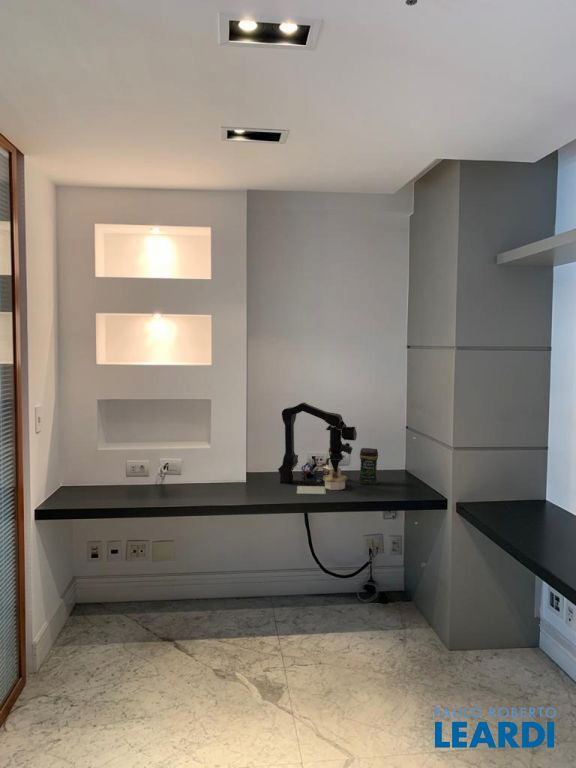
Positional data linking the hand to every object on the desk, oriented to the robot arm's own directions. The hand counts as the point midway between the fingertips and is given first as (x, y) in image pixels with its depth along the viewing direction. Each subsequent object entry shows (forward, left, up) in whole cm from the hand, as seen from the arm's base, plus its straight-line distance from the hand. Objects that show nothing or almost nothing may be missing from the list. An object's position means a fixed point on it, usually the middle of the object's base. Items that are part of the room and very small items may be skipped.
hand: (335, 469), depth 292 cm
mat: (-12, -6, -10) cm, 17 cm away
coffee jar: (+18, +11, -10) cm, 23 cm away
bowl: (0, 0, -10) cm, 10 cm away
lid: (0, 0, -5) cm, 5 cm away
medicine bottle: (-1, +16, -10) cm, 19 cm away
